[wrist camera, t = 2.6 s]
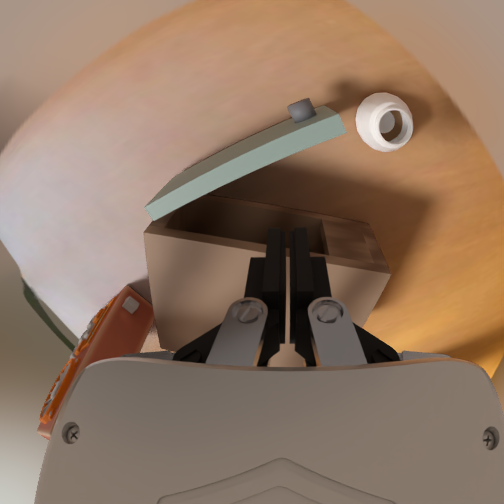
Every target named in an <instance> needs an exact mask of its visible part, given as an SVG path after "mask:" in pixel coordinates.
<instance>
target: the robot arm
mask: <svg viewBox="0 0 504 504" xmlns="http://www.w3.org/2000/svg"><path fill="white" fill-rule="evenodd" d="M289 232H290V344H295V352H297V353H298V354H299V355H300V356H302V357H303V364H304V367H270V363H271V357H272V356H274V355H275V354H276V353H278V352H279V351H280V344H285V333H286V231H281V228H268V235H267V246H266V256H265V257H251V258H250V263H249V269H248V275H247V281H246V287H245V293H244V298H241V299H239V300H236V301H235V302H233V303H232V304H231V305H230V307H229V308H228V310H227V313H226V315H225V318H224V320H223V322H222V323H221V324H219V325H217V326H216V327H214V328H213V329H211V330H209V331H208V332H206V333H204V334H203V335H201V336H200V337H198V338H196V339H195V340H193V341H191V342H190V343H188V344H186V345H185V346H183V347H181V348H180V349H179V350H178V351H177V352H176V353H171V352H170V351H159V352H146V353H132V354H125V355H122V356H120V357H117V358H109V359H104V360H100V361H97V362H94V363H92V364H90V365H88V366H87V367H85V368H84V369H83V370H82V371H81V373H80V374H79V375H78V376H77V378H76V379H75V381H74V383H73V385H72V386H71V388H70V390H69V392H68V394H67V396H66V398H65V400H64V403H63V405H62V407H61V410H60V412H59V414H58V417H57V420H56V423H55V425H54V428H53V431H52V434H51V437H50V440H49V443H48V446H47V450H46V453H45V456H44V460H43V464H42V468H41V473H40V477H39V481H38V486H37V491H36V497H35V503H34V504H504V415H503V411H502V408H501V404H500V401H499V398H498V395H497V392H496V390H495V388H494V386H493V383H492V381H491V379H490V377H489V376H488V374H487V373H486V371H485V370H484V369H483V368H482V367H480V366H479V365H477V364H475V363H473V362H470V361H467V360H462V359H458V358H451V357H450V356H448V355H445V354H434V353H422V352H411V351H403V352H402V353H397V352H396V351H395V350H394V349H393V348H392V347H390V346H389V345H387V344H386V343H384V342H383V341H381V340H379V339H378V338H376V337H375V336H373V335H372V334H370V333H369V332H367V331H366V330H364V329H363V328H361V327H359V326H358V325H356V324H355V323H353V322H352V320H351V317H350V314H349V312H348V309H347V307H346V306H345V304H344V303H343V302H341V301H340V300H338V299H336V298H332V295H331V288H330V282H329V276H328V270H327V265H326V259H325V257H310V250H309V242H308V234H307V227H295V228H294V231H289Z"/></svg>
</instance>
